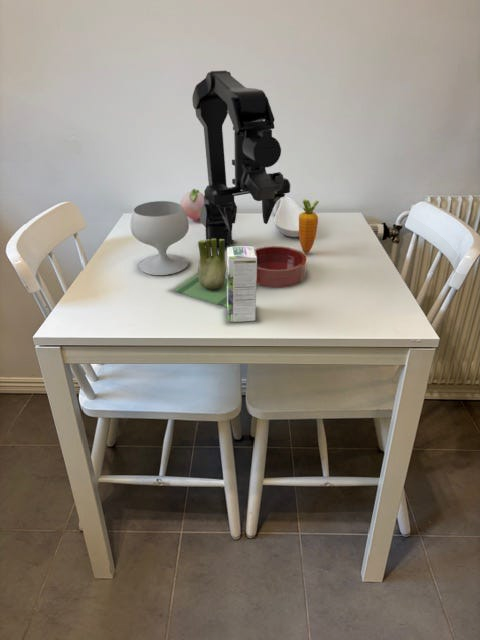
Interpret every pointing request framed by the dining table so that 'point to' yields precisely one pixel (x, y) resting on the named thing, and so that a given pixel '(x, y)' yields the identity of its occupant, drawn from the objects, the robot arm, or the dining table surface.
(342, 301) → the dining table surface
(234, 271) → the syrup box
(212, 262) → the fennel bulb
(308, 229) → the carrot
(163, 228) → the chalice
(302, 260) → the bowl
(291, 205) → the white gravy boat
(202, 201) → the decorative fruit
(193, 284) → the tea towel
